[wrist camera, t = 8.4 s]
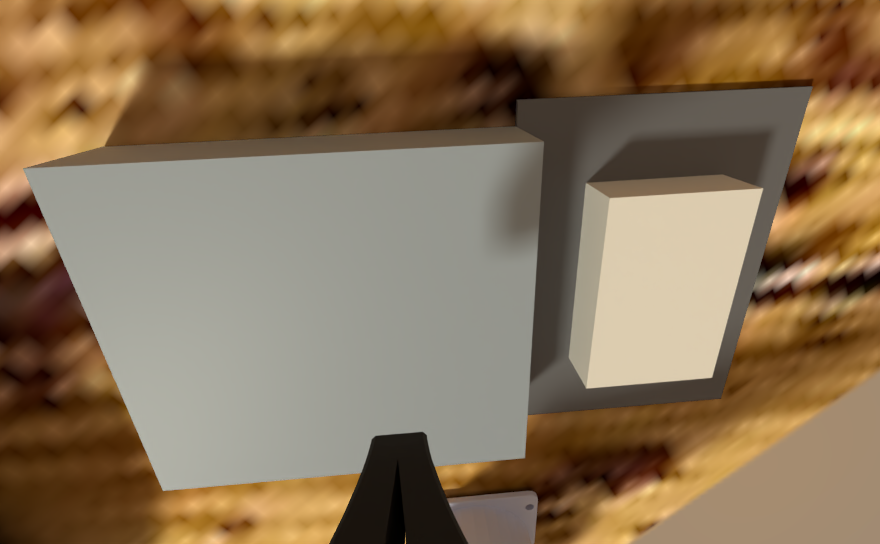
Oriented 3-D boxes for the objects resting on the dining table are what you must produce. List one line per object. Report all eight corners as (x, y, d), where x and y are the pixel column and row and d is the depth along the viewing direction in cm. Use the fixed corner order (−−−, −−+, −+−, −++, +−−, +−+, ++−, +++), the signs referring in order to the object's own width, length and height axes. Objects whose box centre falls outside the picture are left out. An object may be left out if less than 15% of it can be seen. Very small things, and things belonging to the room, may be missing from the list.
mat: (717, 394, 25) (720, 398, 25) (505, 412, 24) (507, 416, 24) (806, 86, 18) (812, 86, 18) (516, 99, 17) (517, 100, 17)
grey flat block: (506, 398, 24) (525, 458, 20) (200, 423, 23) (162, 491, 19) (515, 126, 18) (544, 141, 14) (103, 146, 17) (22, 168, 13)
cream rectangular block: (586, 388, 20) (568, 357, 23) (711, 377, 21) (682, 348, 23) (609, 198, 17) (585, 182, 19) (763, 188, 17) (722, 174, 19)
